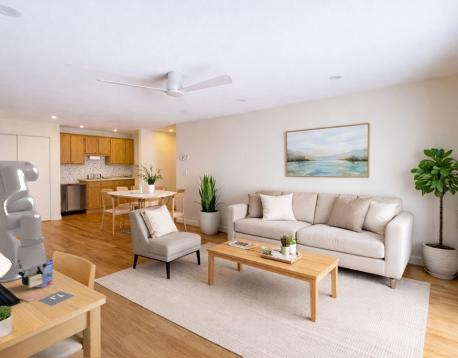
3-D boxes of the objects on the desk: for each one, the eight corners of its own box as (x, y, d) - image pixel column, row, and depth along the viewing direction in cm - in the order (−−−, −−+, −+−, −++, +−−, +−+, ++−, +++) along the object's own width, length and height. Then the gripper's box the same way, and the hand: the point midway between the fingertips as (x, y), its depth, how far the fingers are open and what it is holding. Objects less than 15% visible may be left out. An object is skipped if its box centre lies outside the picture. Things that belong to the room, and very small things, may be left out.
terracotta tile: (19, 298, 120) (19, 297, 120) (36, 292, 126) (36, 291, 126) (29, 302, 117) (29, 301, 117) (46, 295, 123) (46, 294, 123)
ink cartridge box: (53, 283, 136) (53, 254, 135) (44, 288, 130) (43, 258, 129) (37, 281, 138) (36, 252, 137) (26, 286, 132) (26, 256, 131)
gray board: (37, 300, 118) (37, 300, 118) (60, 291, 127) (60, 290, 127) (52, 306, 114) (52, 305, 114) (74, 295, 123) (74, 295, 123)
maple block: (23, 285, 120) (23, 276, 120) (35, 281, 124) (35, 272, 124) (30, 287, 118) (29, 278, 117) (42, 283, 122) (42, 274, 122)
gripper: (46, 236, 129) (47, 274, 130) (4, 245, 114) (5, 288, 115) (56, 238, 126) (57, 276, 127) (14, 248, 111) (15, 292, 112)
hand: (32, 282), depth 121 cm, fingers closed on maple block, 5 cm apart
